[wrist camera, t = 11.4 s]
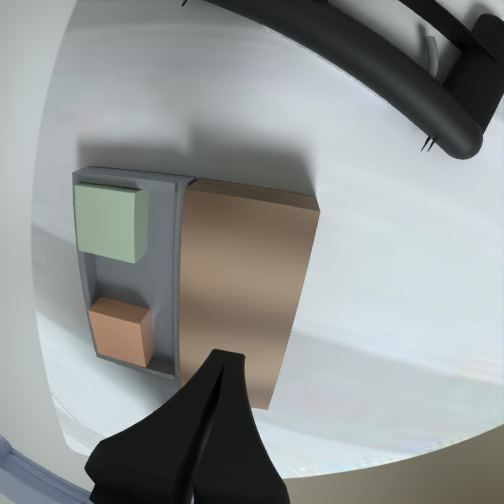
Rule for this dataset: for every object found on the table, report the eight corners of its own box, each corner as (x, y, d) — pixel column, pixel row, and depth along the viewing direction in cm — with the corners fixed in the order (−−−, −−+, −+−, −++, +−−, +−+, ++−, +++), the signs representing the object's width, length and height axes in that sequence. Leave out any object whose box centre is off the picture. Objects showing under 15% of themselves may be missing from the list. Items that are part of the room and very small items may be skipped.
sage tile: (78, 250, 19) (93, 239, 20) (134, 263, 18) (147, 250, 20) (74, 185, 17) (92, 178, 18) (134, 193, 16) (149, 185, 18)
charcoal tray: (187, 365, 25) (180, 382, 23) (106, 342, 26) (96, 356, 24) (195, 177, 18) (185, 184, 17) (89, 166, 19) (72, 172, 17)
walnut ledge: (270, 382, 25) (267, 409, 22) (190, 366, 25) (180, 391, 22) (316, 196, 18) (320, 211, 15) (200, 177, 18) (184, 189, 16)
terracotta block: (98, 353, 23) (108, 338, 24) (145, 367, 22) (154, 351, 24) (88, 310, 21) (100, 296, 23) (139, 324, 20) (150, 308, 22)
